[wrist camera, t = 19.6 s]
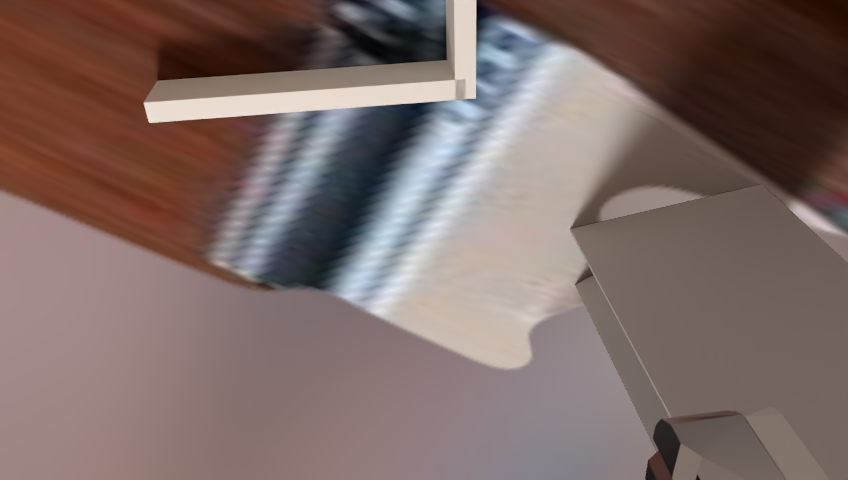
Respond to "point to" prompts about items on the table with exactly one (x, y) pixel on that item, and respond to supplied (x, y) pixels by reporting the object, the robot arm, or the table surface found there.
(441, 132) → the table surface
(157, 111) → the frame
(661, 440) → the robot arm
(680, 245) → the pale grey flat box
